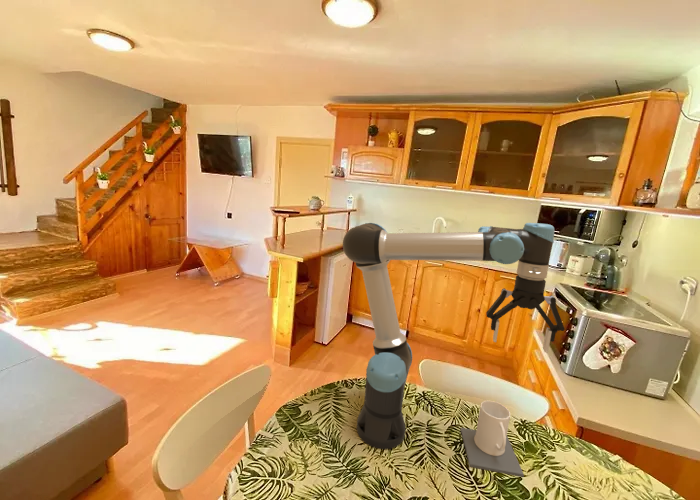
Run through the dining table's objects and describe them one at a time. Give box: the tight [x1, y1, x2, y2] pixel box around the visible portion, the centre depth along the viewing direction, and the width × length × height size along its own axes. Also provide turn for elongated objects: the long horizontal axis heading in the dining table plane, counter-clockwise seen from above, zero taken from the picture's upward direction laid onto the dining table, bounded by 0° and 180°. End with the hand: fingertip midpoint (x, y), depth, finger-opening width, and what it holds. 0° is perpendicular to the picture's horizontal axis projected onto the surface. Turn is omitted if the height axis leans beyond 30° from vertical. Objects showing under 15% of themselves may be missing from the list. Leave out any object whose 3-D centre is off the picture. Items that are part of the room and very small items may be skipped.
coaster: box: [460, 427, 525, 478], centre depth 92 cm, size 14×14×1 cm
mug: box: [474, 399, 511, 456], centre depth 91 cm, size 12×8×12 cm
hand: (519, 345), depth 93 cm, fingers open, 13 cm apart
